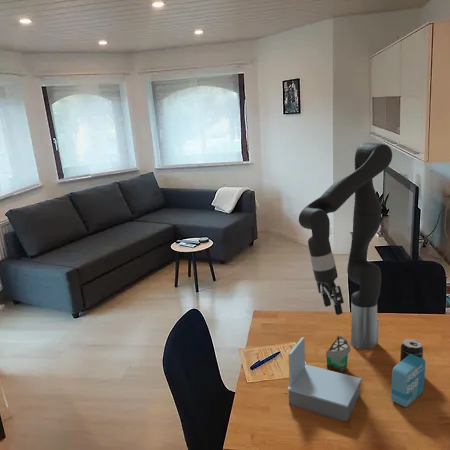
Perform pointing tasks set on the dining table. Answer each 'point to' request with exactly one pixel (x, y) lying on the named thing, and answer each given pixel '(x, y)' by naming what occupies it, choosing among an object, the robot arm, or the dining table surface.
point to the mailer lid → (319, 380)
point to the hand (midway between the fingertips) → (333, 309)
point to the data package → (408, 380)
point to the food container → (338, 355)
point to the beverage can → (411, 348)
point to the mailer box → (323, 405)
